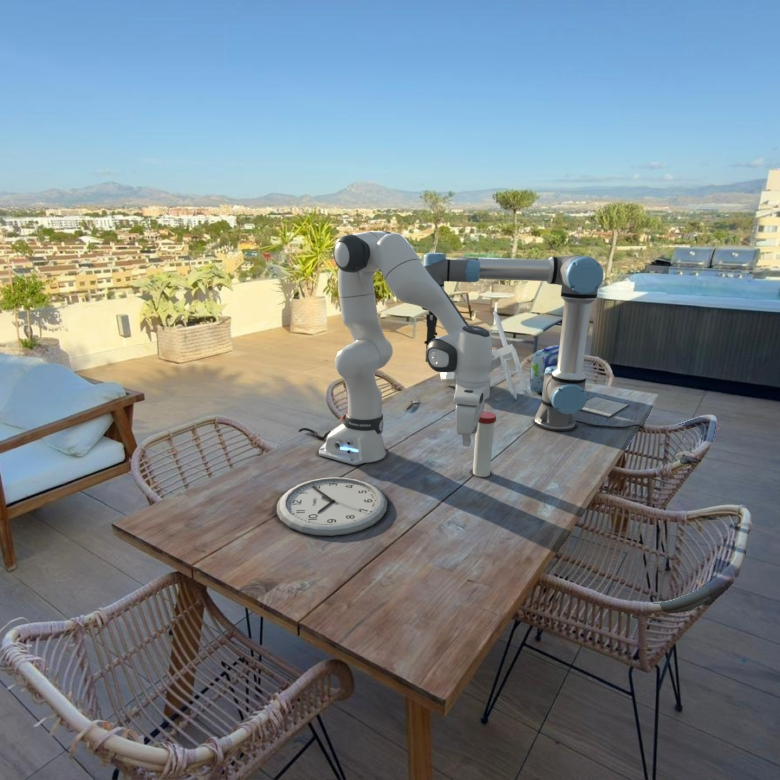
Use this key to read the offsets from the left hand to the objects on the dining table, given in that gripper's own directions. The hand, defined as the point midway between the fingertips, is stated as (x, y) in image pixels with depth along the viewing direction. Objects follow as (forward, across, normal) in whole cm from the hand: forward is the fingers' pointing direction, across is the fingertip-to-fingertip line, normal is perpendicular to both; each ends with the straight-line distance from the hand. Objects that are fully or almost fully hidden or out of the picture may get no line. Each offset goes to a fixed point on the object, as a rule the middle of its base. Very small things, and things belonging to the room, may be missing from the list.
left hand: (470, 438), depth 139 cm
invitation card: (+20, -103, +38) cm, 112 cm away
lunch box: (+19, -120, +16) cm, 122 cm away
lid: (0, -20, +1) cm, 20 cm away
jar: (+19, -20, 0) cm, 28 cm away
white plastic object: (+19, -104, -15) cm, 106 cm away
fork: (+18, -74, -38) cm, 85 cm away
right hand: (-9, -50, -25) cm, 56 cm away
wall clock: (+19, +14, -34) cm, 42 cm away
